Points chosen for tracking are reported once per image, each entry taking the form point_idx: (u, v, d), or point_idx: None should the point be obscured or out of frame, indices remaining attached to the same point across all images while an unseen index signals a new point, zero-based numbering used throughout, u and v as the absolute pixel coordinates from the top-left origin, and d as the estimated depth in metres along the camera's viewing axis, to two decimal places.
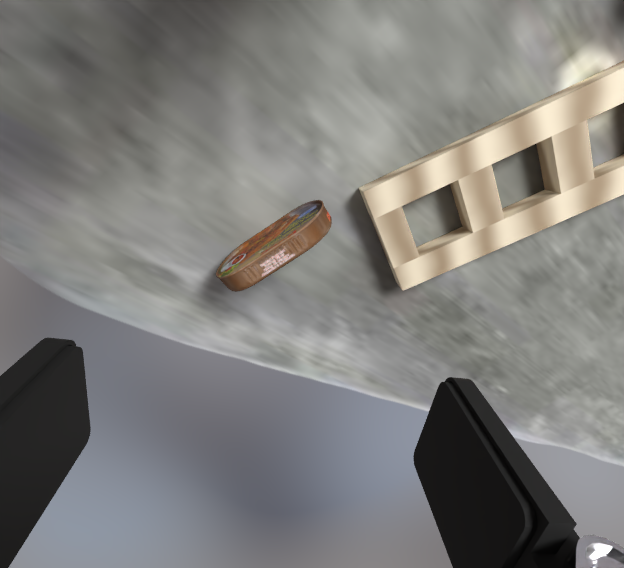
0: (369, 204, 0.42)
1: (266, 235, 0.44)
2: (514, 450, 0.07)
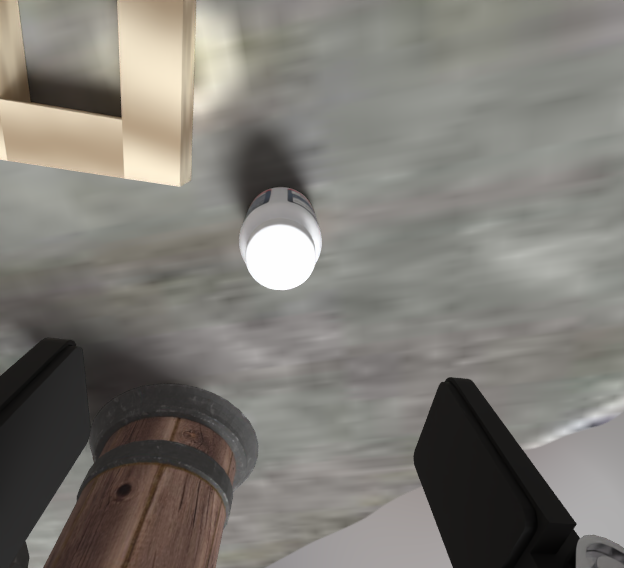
0: None
1: None
2: (514, 450, 0.07)
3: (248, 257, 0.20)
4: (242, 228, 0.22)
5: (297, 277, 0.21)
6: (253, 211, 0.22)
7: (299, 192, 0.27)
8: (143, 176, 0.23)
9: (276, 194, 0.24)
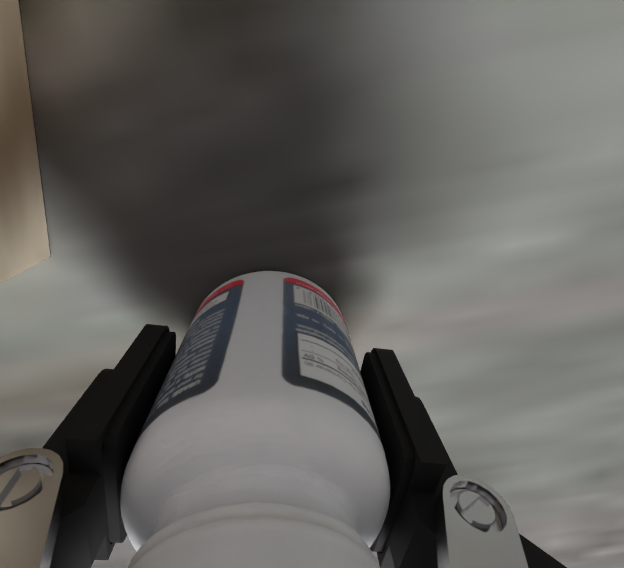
0: None
1: None
2: (411, 406, 0.08)
3: None
4: (125, 479, 0.06)
5: None
6: (161, 424, 0.06)
7: (311, 283, 0.11)
8: None
9: (252, 316, 0.09)
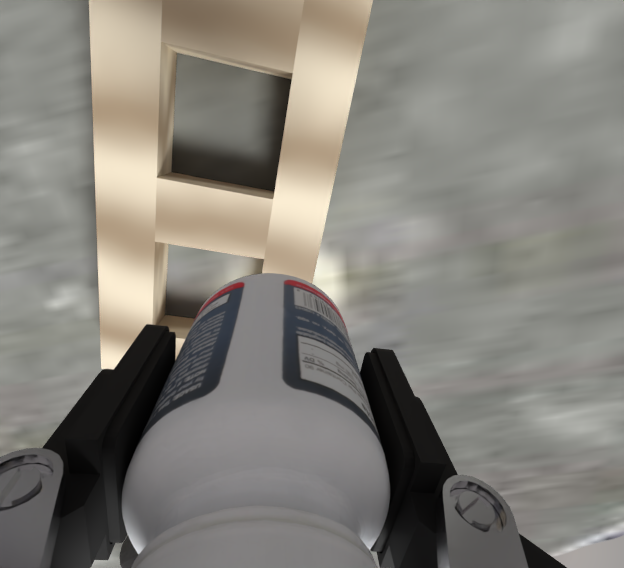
0: None
1: None
2: (411, 406, 0.08)
3: None
4: (126, 482, 0.06)
5: None
6: (163, 428, 0.06)
7: (312, 285, 0.11)
8: None
9: (252, 319, 0.09)
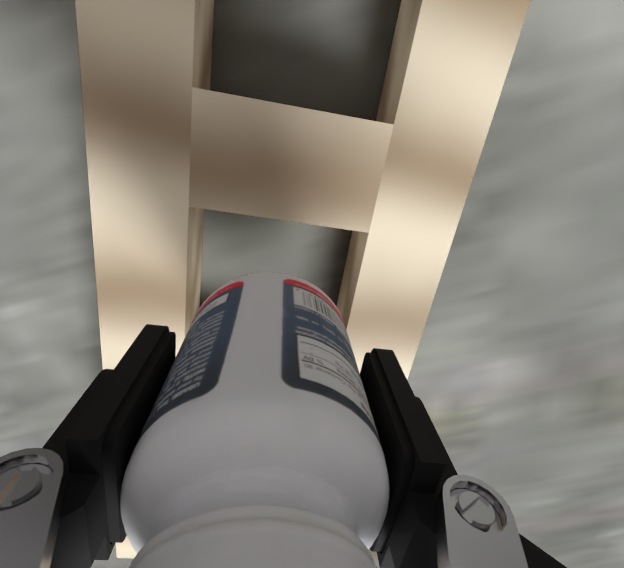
0: None
1: None
2: (411, 406, 0.08)
3: None
4: (125, 481, 0.06)
5: None
6: (161, 427, 0.06)
7: (311, 284, 0.11)
8: None
9: (251, 318, 0.09)
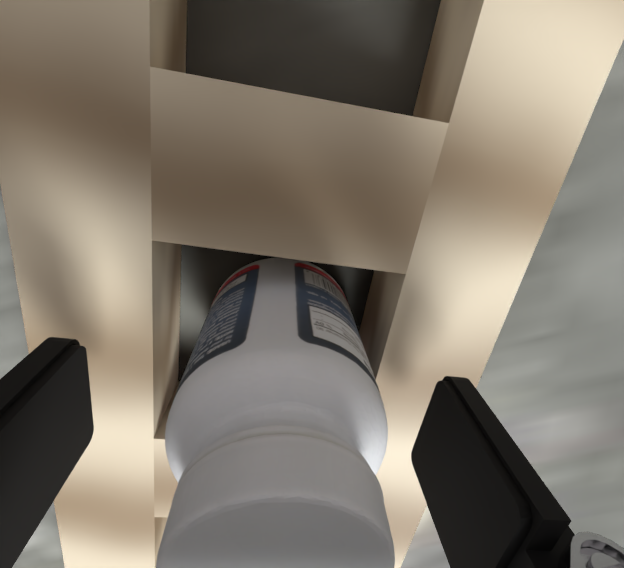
0: None
1: None
2: (510, 448, 0.07)
3: None
4: (170, 418, 0.08)
5: None
6: (201, 373, 0.08)
7: (319, 268, 0.13)
8: None
9: (269, 292, 0.10)
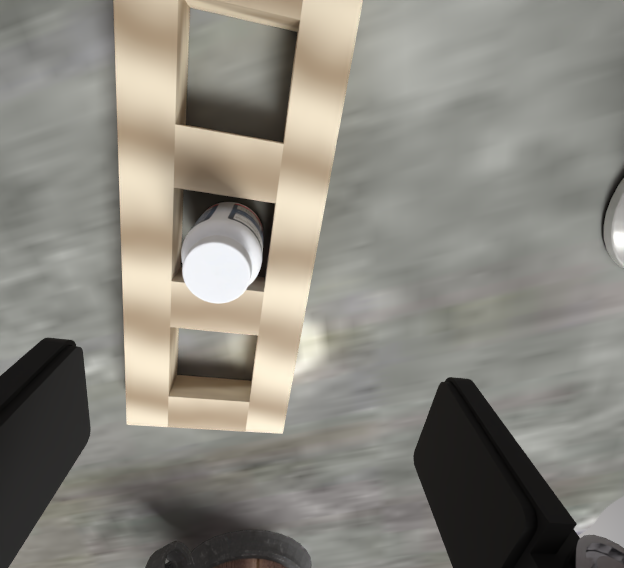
0: None
1: None
2: (514, 450, 0.07)
3: (185, 273, 0.21)
4: (183, 244, 0.23)
5: (233, 291, 0.22)
6: (193, 228, 0.23)
7: (247, 207, 0.28)
8: (258, 429, 0.34)
9: (220, 210, 0.25)
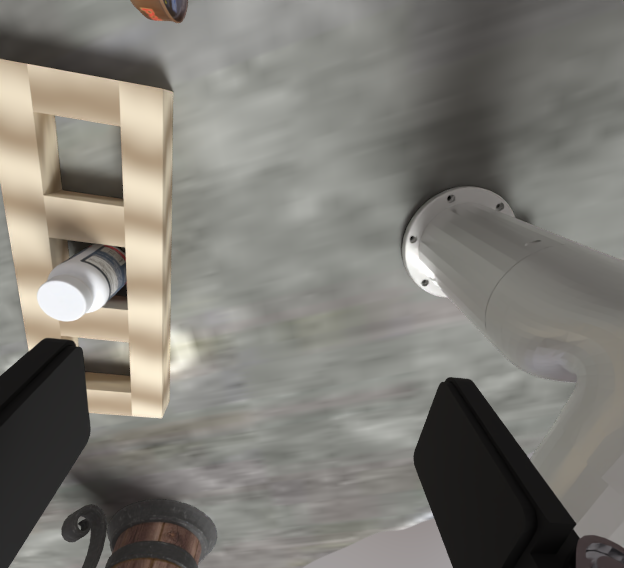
0: (142, 86, 0.30)
1: None
2: (514, 450, 0.07)
3: (39, 301, 0.31)
4: None
5: (75, 313, 0.31)
6: (54, 268, 0.33)
7: (114, 247, 0.38)
8: (142, 414, 0.44)
9: (84, 252, 0.35)
